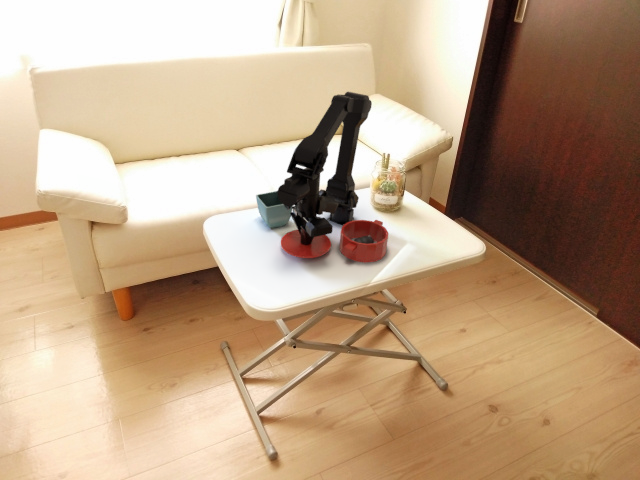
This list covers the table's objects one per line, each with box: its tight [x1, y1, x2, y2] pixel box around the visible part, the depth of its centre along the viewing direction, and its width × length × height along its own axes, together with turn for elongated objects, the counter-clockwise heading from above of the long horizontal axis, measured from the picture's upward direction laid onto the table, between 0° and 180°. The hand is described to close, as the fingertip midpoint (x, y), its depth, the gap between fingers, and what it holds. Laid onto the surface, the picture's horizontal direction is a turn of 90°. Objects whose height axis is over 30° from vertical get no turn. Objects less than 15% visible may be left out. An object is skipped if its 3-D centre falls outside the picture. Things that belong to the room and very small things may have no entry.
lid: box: [280, 229, 332, 259], centre depth 127 cm, size 14×14×6 cm
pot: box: [338, 219, 389, 264], centre depth 129 cm, size 13×19×6 cm
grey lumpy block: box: [353, 235, 375, 244], centre depth 130 cm, size 7×4×4 cm, turn 117°
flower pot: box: [255, 190, 294, 229], centre depth 138 cm, size 9×9×9 cm
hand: (306, 240), depth 128 cm, fingers closed on lid, 3 cm apart
